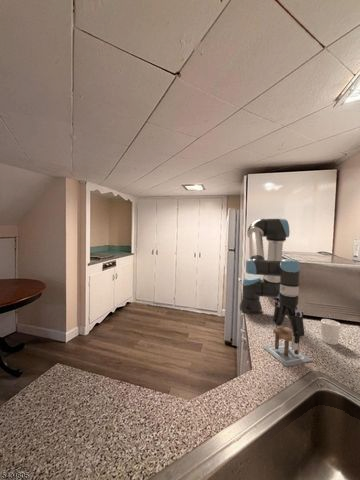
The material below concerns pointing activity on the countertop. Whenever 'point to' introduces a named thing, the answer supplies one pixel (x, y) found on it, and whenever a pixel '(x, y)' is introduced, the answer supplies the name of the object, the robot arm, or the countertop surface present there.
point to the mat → (291, 358)
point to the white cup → (330, 331)
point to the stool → (287, 336)
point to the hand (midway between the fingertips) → (286, 344)
